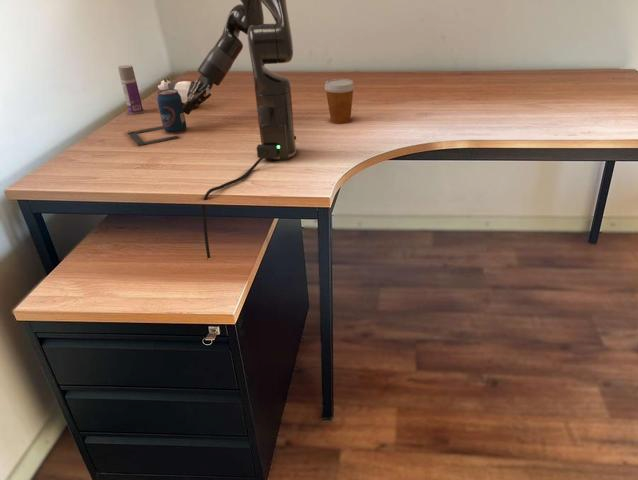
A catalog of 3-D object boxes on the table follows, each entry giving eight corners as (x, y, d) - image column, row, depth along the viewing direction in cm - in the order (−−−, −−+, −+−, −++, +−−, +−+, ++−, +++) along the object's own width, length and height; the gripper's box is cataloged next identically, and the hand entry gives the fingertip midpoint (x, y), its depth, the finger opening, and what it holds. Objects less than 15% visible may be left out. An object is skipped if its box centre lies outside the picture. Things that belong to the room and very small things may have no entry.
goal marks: (165, 126, 174) (165, 125, 174) (179, 138, 164) (179, 137, 164) (127, 133, 168) (127, 132, 168) (139, 146, 159) (138, 145, 159)
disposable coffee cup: (339, 114, 182) (338, 76, 175) (361, 119, 176) (360, 81, 170) (319, 121, 176) (317, 83, 169) (342, 127, 170) (340, 87, 164)
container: (145, 109, 189) (134, 64, 181) (140, 114, 185) (130, 67, 177) (131, 110, 189) (120, 65, 181) (127, 114, 185) (115, 68, 177)
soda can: (159, 133, 168) (150, 94, 161) (171, 126, 173) (163, 87, 167) (179, 135, 166) (171, 95, 160) (191, 128, 172) (184, 89, 165)
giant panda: (202, 106, 192) (197, 78, 187) (194, 110, 188) (188, 81, 182) (167, 103, 196) (161, 75, 191) (157, 107, 191) (151, 79, 186)
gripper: (199, 54, 169) (168, 100, 171) (213, 61, 160) (180, 111, 161) (218, 69, 175) (188, 114, 176) (233, 77, 165) (201, 125, 167)
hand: (184, 112), depth 169 cm, fingers closed
